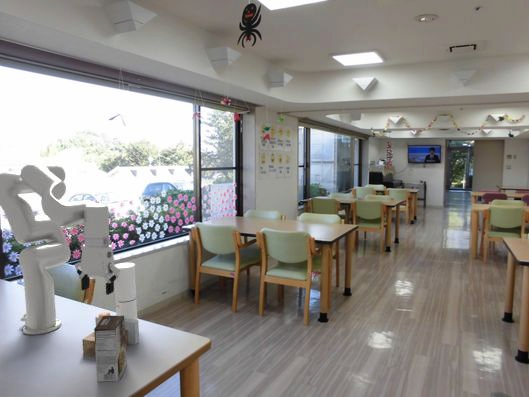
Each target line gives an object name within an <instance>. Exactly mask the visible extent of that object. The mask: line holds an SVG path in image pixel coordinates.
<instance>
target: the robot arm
mask: <svg viewBox="0 0 529 397" xmlns="http://www.w3.org/2000/svg"><path fill="white" fill-rule="evenodd" d="M65 179H66V171H65V169H64V168H63V166H61V165H60V164H58V163H56V162H36V163H35V162H34V163H28V164H27V165H25V166H23V167H22V168H21V169H20V170H16V171H4V172H2V173H0V208H1V209H2V210H3V212H4V214H5V215H6V216H5V217H6V219H7V222H8V224H9V226H10V229H11V231H12V234H13V236H14V238H15V240H16V242H17V243H18V244H20V245H30V244H34V243H38V244H34V245H30V246H28V247H26V248H24V249H22V250H21V251H20V253H19V255H18V262H19V266H20V270H21V273H22V277H23V279H22V280H23V287H24V301H25V310H26V311H25V312H26V313H24V314H23V316H22V317H21V318H20V321H21V322H24V323H25V324H24V326H23V327H22V332H23V334H26V335H29V336H30V335H31V336H33V335H34V336H35V335H36V336H37V335H42V334H47V333H49V332H53V331H55V330H57V329H58V328H59V327H60V326H61V325H62V321H61V319H59V318H58V317H57V314H56V313H57V312H56V296H55V285H54V284H55V282H54V278H53V277H52V275H51V274H50V273H49V272H48V271H47V270H49V269H51V268H54V267H57V266H61V265H64V264H67V263H68V262H69V260H70V259H71V249H70V246H69V242H68V241H67V238H66V236H65V233H64V231H63V228H62V227H70V226H76V225H82V224H83V239H84V242H83V246H82V249H81V250H82V251H81V256H80V258H81V260H80V261H79V262H76V263H75V264H74V267H75V271H76V273H77V274H78V276H79V279H80V280H81V281H80V284H81V286H80V287H81V291H86V290H88V289H89V288H90V287H91V285H90V276H93V277H100V278H101V277H102V278H104V280H105V281H106V283H105V295H111V294H113V293H115V280H116V279H117V278H118V275H119V274H120V272H121V271H120V269H118V268H117V267H116V266H114V265H115V258H114V251H113V247H112V245H111V244H112V239H110V223H109V222H110V220H109V219H110V218H109V215H110V212H109V206H107V204H104V203H97V202H94V201H91V200H81V201H71V202H65V203H64V202H63V203H62V202H61V201H60V200H61V199H62V198H63V197H64V195H65V194H66V191H67V186H66V183H65ZM33 193H34V194H35V193H36V194H37V195H39V197H41V203H40V204H41V208H42V211H43V213H44V215H41V216H37V215H35V213H34V212H33V208H32V206H31V205H30V204H29V203H28V202H27V200H25V199H24V198H22V197H21V196H19V195H22V194H33ZM43 241H45V242H44V243H39V242H43Z"/></svg>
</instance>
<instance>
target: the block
mask: <svg viewBox="0 0 529 397" xmlns="http://www.w3.org/2000/svg"><path fill="white" fill-rule="evenodd" d="M125 340H126V346H127V345H129V344H128V330H125ZM81 342H82V353H83V355H89V356H95V357H96V350H95V334H94V332H92V333H90V334H89V335H87V336H85V337H83V338H82V340H81Z"/></svg>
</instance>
